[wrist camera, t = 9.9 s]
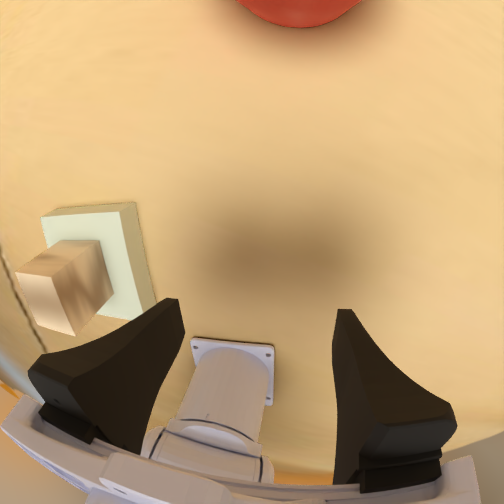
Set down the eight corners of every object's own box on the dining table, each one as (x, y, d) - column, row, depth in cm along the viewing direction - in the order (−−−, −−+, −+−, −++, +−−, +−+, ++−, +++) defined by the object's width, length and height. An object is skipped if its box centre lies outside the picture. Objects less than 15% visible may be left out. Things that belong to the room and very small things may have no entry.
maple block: (114, 293, 23) (75, 336, 17) (75, 288, 23) (37, 324, 18) (99, 240, 21) (50, 277, 15) (60, 240, 21) (14, 271, 16)
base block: (159, 303, 26) (145, 322, 23) (84, 293, 28) (68, 308, 25) (138, 200, 22) (119, 211, 19) (60, 207, 24) (40, 217, 21)
